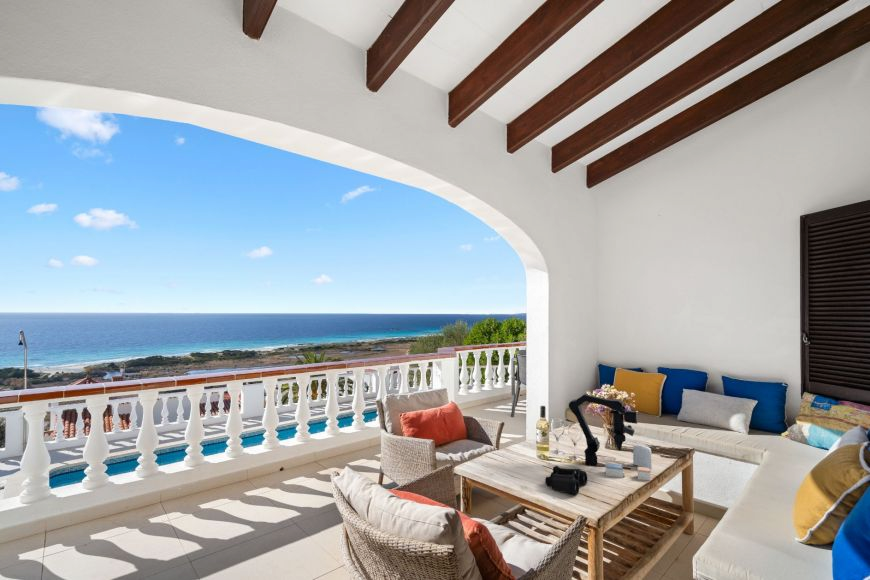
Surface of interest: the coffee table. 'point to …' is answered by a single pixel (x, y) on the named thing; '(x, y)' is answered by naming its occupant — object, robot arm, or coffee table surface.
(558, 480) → the binoculars
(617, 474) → the ticket book
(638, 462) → the photo printer
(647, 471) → the stub
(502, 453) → the coffee table surface
